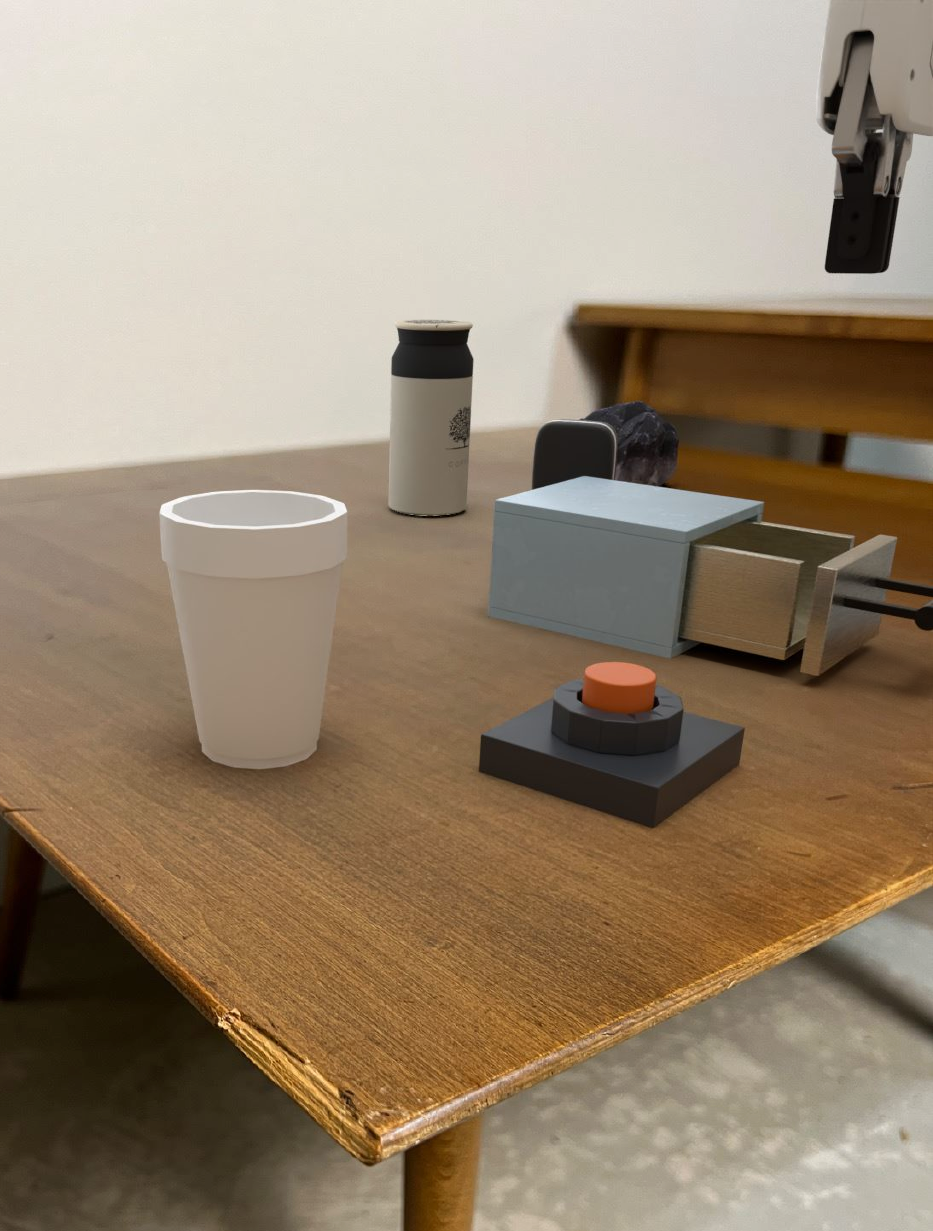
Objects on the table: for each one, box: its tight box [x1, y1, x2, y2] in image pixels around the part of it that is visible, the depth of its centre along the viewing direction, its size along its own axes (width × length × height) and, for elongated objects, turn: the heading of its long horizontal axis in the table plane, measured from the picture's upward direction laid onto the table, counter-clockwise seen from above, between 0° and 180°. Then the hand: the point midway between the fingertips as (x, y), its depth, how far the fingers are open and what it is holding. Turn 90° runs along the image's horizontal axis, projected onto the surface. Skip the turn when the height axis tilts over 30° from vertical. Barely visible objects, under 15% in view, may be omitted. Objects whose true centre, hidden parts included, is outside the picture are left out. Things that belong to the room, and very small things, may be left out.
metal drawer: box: [678, 519, 933, 677], centre depth 79 cm, size 19×11×7 cm, turn 50°
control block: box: [478, 678, 746, 829], centre depth 62 cm, size 10×10×4 cm
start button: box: [582, 661, 657, 714], centre depth 61 cm, size 4×4×2 cm
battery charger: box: [531, 418, 618, 490], centre depth 104 cm, size 7×4×11 cm, turn 70°
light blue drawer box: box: [487, 476, 765, 659], centre depth 87 cm, size 15×13×9 cm
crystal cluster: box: [578, 400, 680, 487], centre depth 135 cm, size 13×14×10 cm
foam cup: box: [158, 489, 348, 770], centre depth 63 cm, size 10×9×13 cm
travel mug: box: [387, 319, 475, 516], centre depth 119 cm, size 8×8×18 cm
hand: (855, 271), depth 70 cm, fingers closed
